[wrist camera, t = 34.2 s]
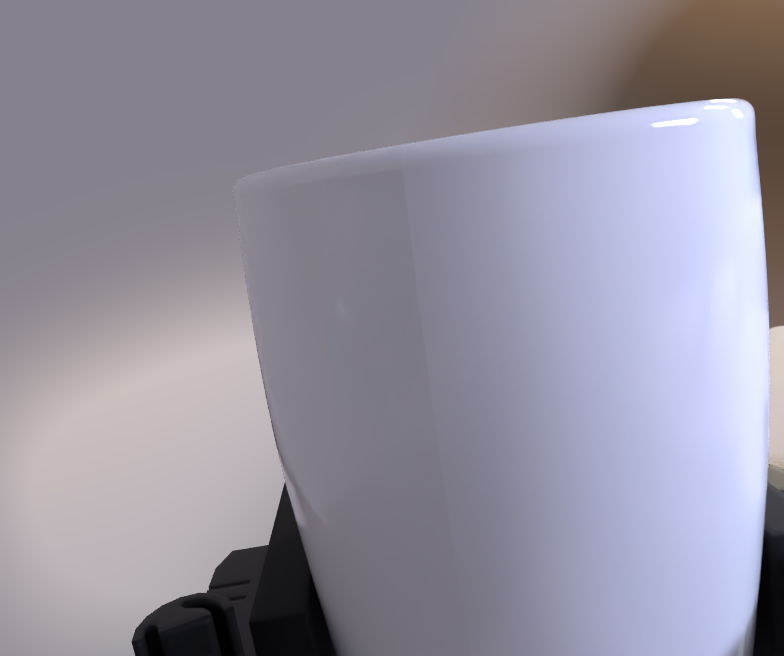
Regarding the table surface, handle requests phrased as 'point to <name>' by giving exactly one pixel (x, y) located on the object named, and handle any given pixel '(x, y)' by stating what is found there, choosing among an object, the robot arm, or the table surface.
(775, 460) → the table surface
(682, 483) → the drinking glass
